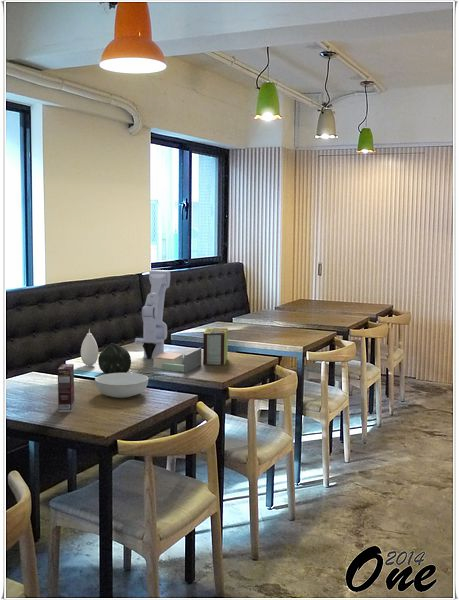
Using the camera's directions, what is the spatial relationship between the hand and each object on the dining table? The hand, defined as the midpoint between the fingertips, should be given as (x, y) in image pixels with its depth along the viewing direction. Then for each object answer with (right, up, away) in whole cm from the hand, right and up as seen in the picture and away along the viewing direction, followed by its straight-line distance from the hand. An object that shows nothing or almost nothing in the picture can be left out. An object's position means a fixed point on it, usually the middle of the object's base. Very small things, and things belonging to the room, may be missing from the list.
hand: (149, 358), depth 316 cm
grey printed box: (+17, -4, -6) cm, 18 cm away
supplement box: (-21, -12, -75) cm, 79 cm away
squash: (-13, -5, -20) cm, 25 cm away
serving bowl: (-4, -10, -55) cm, 56 cm away
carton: (+9, -3, -3) cm, 10 cm away
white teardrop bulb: (-27, -3, -7) cm, 28 cm away
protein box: (+31, -2, +8) cm, 33 cm away
